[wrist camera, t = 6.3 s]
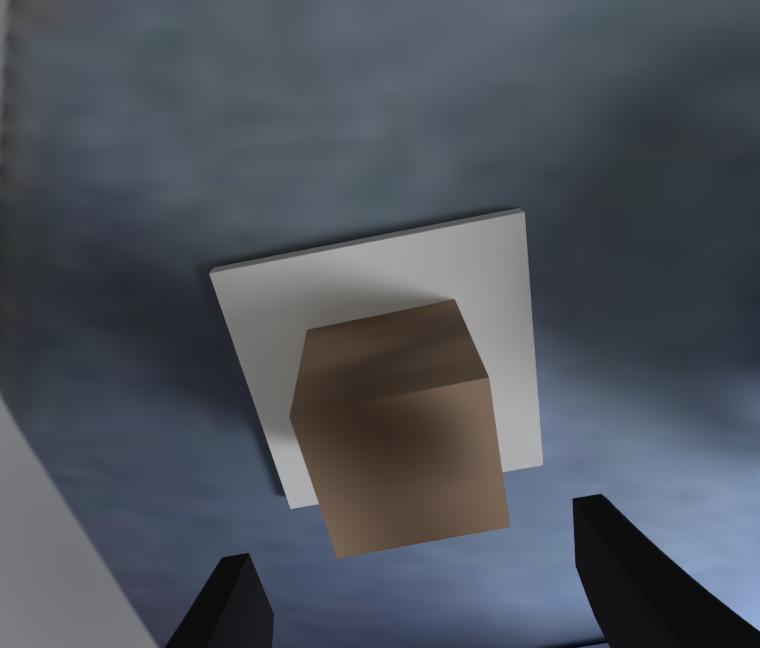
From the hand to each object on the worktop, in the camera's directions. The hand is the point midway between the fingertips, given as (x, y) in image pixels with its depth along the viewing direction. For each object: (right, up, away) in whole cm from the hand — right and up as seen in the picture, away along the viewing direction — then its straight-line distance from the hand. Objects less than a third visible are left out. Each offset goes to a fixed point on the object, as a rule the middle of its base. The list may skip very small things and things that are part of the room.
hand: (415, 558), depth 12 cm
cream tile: (0, +4, +7) cm, 8 cm away
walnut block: (0, +3, +7) cm, 8 cm away
